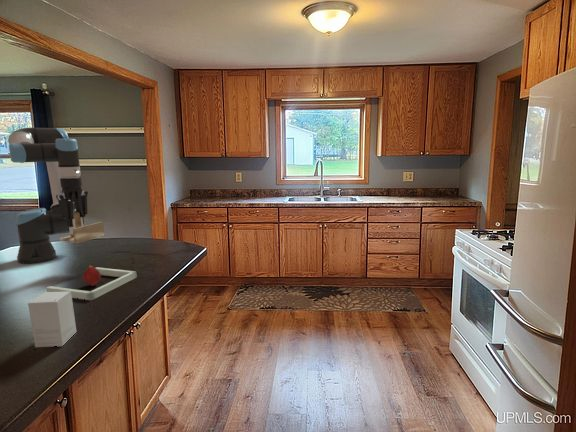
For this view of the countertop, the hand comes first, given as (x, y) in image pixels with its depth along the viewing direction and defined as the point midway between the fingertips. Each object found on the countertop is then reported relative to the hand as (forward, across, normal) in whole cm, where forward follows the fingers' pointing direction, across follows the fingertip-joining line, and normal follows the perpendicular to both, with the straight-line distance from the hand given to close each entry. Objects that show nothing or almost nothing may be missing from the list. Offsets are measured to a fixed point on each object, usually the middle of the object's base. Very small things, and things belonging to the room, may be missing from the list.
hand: (77, 233), depth 152 cm
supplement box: (+15, -47, -43) cm, 65 cm away
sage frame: (+16, -13, -21) cm, 29 cm away
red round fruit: (+16, -13, -20) cm, 29 cm away
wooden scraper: (+2, 0, -2) cm, 3 cm away
